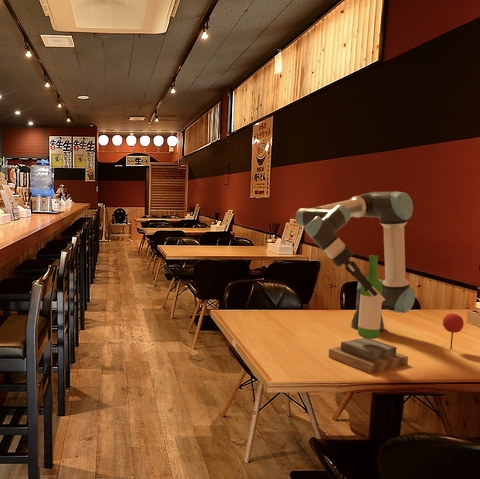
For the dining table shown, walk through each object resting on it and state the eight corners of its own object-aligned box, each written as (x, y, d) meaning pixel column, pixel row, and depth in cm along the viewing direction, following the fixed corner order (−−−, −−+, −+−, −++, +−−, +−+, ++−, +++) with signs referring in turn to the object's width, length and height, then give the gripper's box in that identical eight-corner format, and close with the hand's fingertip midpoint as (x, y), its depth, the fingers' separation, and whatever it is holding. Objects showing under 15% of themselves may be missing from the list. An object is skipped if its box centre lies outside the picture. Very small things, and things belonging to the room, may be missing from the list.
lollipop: (460, 353, 185) (463, 316, 184) (439, 350, 189) (442, 313, 188) (462, 349, 192) (464, 313, 191) (441, 345, 195) (444, 310, 194)
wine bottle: (367, 340, 166) (373, 256, 164) (353, 334, 172) (358, 254, 170) (384, 338, 169) (389, 256, 167) (368, 332, 176) (374, 254, 174)
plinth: (364, 349, 185) (365, 334, 185) (407, 364, 169) (408, 348, 169) (328, 356, 174) (329, 340, 174) (371, 373, 158) (372, 356, 157)
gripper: (330, 256, 182) (370, 300, 180) (330, 262, 162) (375, 312, 160) (345, 244, 180) (385, 288, 179) (347, 248, 160) (392, 298, 159)
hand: (380, 299), depth 169 cm, fingers closed on wine bottle, 8 cm apart
